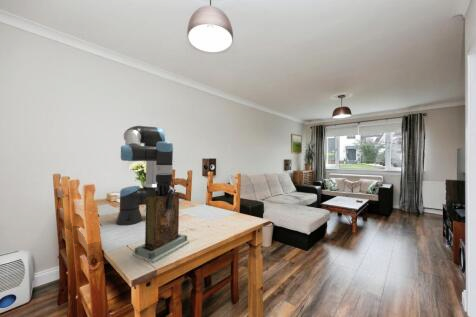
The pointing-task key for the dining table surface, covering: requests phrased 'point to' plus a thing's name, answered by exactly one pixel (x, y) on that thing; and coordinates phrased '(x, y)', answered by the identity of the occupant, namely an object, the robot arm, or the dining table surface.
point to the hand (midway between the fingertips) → (163, 222)
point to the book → (161, 221)
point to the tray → (161, 249)
